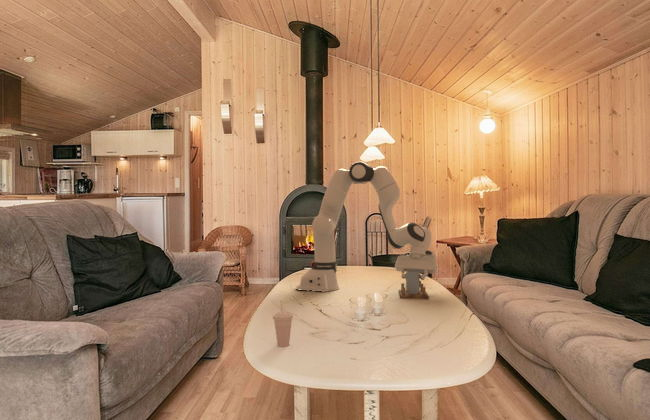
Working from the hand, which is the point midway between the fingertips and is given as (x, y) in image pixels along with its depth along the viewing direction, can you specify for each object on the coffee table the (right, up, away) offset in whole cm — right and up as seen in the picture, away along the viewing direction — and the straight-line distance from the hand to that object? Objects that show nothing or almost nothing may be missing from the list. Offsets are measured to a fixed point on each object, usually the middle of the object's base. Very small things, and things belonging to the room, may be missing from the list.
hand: (412, 278), depth 202 cm
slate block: (0, -7, +1) cm, 7 cm away
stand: (0, -8, +1) cm, 8 cm away
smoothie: (-55, -11, -67) cm, 87 cm away
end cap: (+6, -8, +26) cm, 27 cm away
